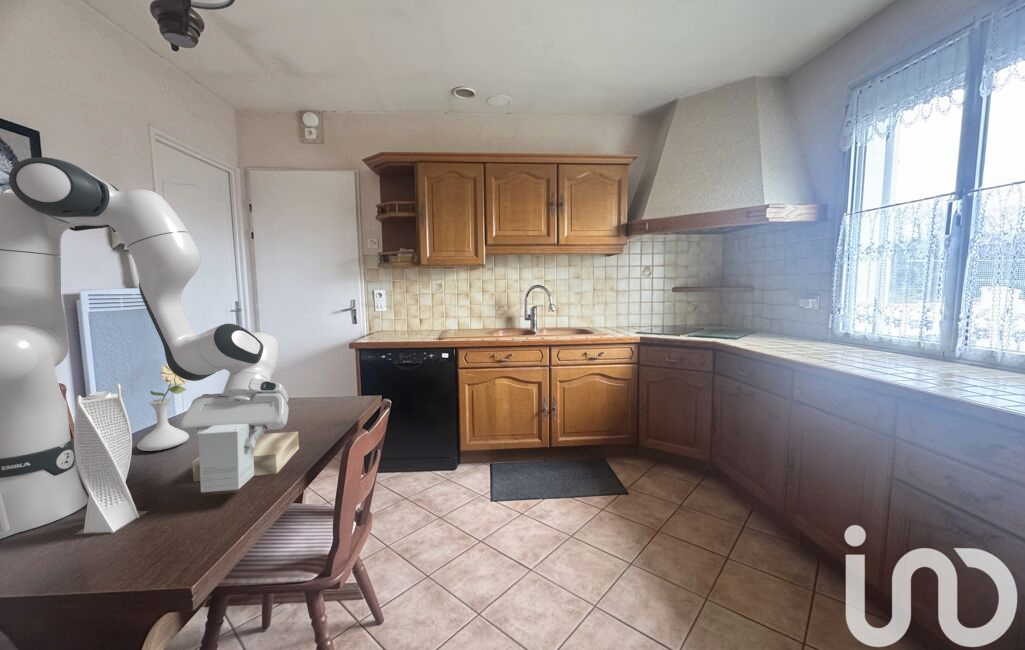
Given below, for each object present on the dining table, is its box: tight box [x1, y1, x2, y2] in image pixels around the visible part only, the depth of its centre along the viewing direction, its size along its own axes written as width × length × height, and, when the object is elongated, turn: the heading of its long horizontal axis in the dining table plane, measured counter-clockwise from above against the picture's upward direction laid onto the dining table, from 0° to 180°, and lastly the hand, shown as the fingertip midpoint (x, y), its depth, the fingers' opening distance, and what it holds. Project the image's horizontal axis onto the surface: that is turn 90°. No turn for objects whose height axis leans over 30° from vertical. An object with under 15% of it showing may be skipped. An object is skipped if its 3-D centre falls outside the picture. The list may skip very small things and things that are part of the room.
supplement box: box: [197, 424, 255, 493], centre depth 82 cm, size 7×7×13 cm
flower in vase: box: [136, 362, 190, 452], centre depth 112 cm, size 13×11×25 cm
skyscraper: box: [73, 383, 148, 535], centre depth 73 cm, size 8×8×28 cm
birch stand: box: [191, 431, 300, 482], centre depth 100 cm, size 18×16×5 cm
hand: (226, 448), depth 82 cm, fingers closed on supplement box, 7 cm apart
